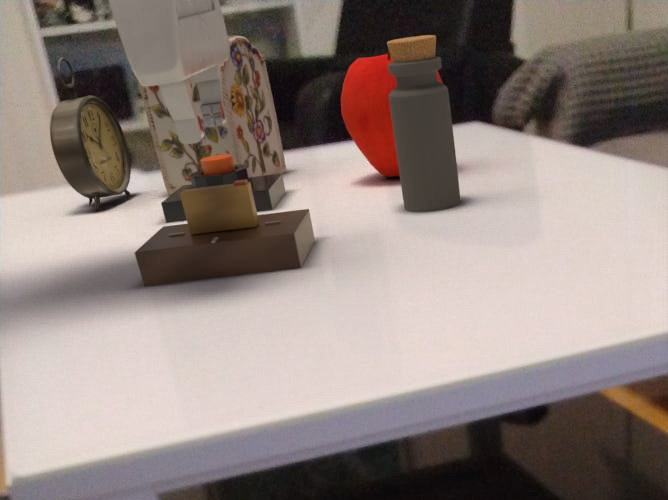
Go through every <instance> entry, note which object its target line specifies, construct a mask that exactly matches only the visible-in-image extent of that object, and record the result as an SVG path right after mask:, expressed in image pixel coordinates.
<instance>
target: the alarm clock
mask: <svg viewBox="0 0 668 500" xmlns="http://www.w3.org/2000/svg"><path fill="white" fill-rule="evenodd" d="M63 61H64V63H65V64H66V65H67V67H68V69H69V71H70V75H71V83H68V84H67V83H66V82H65V81H64V78H63V75H62V68H61V67H62V62H63ZM57 71H58V72H57V73H58V77H59V79H60V82H61V84H62V85H63V86H64V88H65V89H66V90H67V92H68V97H69V99H66V100H63V101H60V102H59V103H58V104H57V105H55V107H54V109H53V111H52V113H51V115H50V121H49V137H50V143H51V149H52V152H53V155H54V159H55V162H56V165H57V166H58V168H59V170H60V171H61V172H60V173H61V174H62V176H63V177H64V179H65V181H66V182H67V183H68V184H69V186H70V187H71V189H73V190H74V191H75V192H77V193H78V194H80V196H83V197H84V198H87V199H88V206H89V207H91V205H92V203H93V202H94V205H95V207H94V212H95V213H97V212H100V211H101V208H100V204H101V199H102V198H108V197H112V196H120V195H122V194H123V193H124V195H125V196H127V197H129V196H131V192H130V191H129V190H128V187H129V184H130V180H131V173H132V164H131V163H132V162H131V156H130V151H129V146H128V143H127V139H126V137H125V133H124V130H123V128H122V126H121V124H120V122H119V120H118V118H117V117H116V114H115V113H114V111H113V110H112V109H111V108H110V106H109V105H108V104H107V103H106V102H105V101H104V100H102V99H101V98H100V97H98V96H95V95H90V94H89V95H86V96H82V97H79V96H78V94H77V92H76V91H75V90H76V89H75V81H76V80H75V75H74V71H73V68H72V66H71V63H70V61H68V59H67V58H65V57H64V56H62V57H60V58H59V59H58V61H57Z"/></svg>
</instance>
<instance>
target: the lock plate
mask: <svg viewBox="0 0 668 500" xmlns="http://www.w3.org/2000/svg"><path fill="white" fill-rule="evenodd" d="M257 215H258V220H259V224H258V225H257V226H256V227H251V228H243V229H234V230H226V231H218V232H210V233H201V234H193V235H191V234H190V231H189V227H188V223H182V224H181V223H180V224H172V225H163V226H162V227H161V228H160V229H158V230H157V232H155V233H154V234H153V235H152V236H151V237H150V238H149V239H148V240H146V241H145V242H144V243H143V244H142V245H141V246H140V247H138V249H136V250H135V251H134V256H135V259H136V262H137V266H138V270H139V273H140V277H141V281H142V283H143V286H144V287H150V286H158V285H167V284H168V285H169V284H175V283H184V282H194V281H201V280H209V279H218V278H227V277H235V276H244V275H253V274H262V273H269V272H277V271H285V270H286V271H287V270H293V269H302V267H303V265H304V264H305V261H306V259H307V257H308V255H309V254H310V252H311V250H312V249H313V246H314V244H315V243H316V239H315V238H316V237H315V234H314V229H313V228H314V227H313V223H312V218H311V213H310V209H309V208H305V209H295V210H288V211H279V212H272V213H264V214H263V213H262V214H257Z"/></svg>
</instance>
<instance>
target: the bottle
mask: <svg viewBox="0 0 668 500" xmlns="http://www.w3.org/2000/svg"><path fill="white" fill-rule="evenodd" d="M386 46H387V49H388V48H389V52H390V55H391V58H392V61H393V62H391V63H389V64H388V69H389V74H390V75H392V76H395V77H396V83H397V86H396V88H394V89H393V90H392V91H391V93H390V94H389V102H390V110H391V117H392V124H393V132H394V139H395V146H396V153H397V160H398V167H399V174H400V176H399V180H400V186H401V188H400V189H401V194H402V200H403V206H404V210H405V211H406V212H409V213H428V212H429V213H430V212H436V211H443V210H448V209H451V208H454V207H456V206H459V205H460V204H461V191H460V182H459V171H458V164H457V155H456V154H457V153H456V146H455V138H454V128H453V119H452V111H451V102H450V95H449V89H448V86H447V85H445V84H444V83H443V82H442V83H443V84H442V83H441V82H438V80H437V71H439V70H440V69H442V67H443V66H442V58H441V56H437V55H436V47H437V36H436V35H435V34H427V35H426V34H425V35H416V36H409V37H402V38H397V39H391V40H388V41H387V42H386Z"/></svg>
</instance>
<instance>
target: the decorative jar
mask: <svg viewBox="0 0 668 500" xmlns="http://www.w3.org/2000/svg"><path fill="white" fill-rule="evenodd" d="M228 38H229V44H230V59H229V60H227V61H225V62H223V63H221V64H218V65H219V69H220V73H221V77H222V93H223V105H224V109H225V114H226V118H227V120H226V122H225V123H224V124H223V125H222V126H218V127H211V128H209V127H206V125H205V124H204V121H203V116H202V113H201V109H200V106H201V100H200V95H199V90H198V85H197V83H196V82H195V79H194V76H192V77H190V78H189V82H190V86H191V90H192V94H191V97H192V100H193V103H194V107H195V110H196V113H197V116H200V120H201V124H202V129H203V132H204V137H203V139H202V140H200V141H199V142H198V143H192V144H183V143H181V142H180V141H179V138H178V134H177V131H176V127H175V123H174V121H173V119H172V117H171V115H170V113H169V111H168V109H167V107H166V105H165V103H164V101H163V98H162V95H161V91H160V87H159V85H154V86H142V85H141V84H140V82H139V81H138V80H137V83H138V86H139V90H140V95H141V98H142V101H143V107H144V111H145V114H146V119H147V122H148V127H149V131H150V135H151V139H152V142H153V146H154V150H155V154H156V158H157V162H158V166H159V169H160V172H161V176H162V180H163V184H164V187H165V189H166V194H167V195H168V196H170V195H171V194H173V193H174V192H175V191H176V190H178V189H179V188H180V187H181V186H183V185H191V184H192V183H191V179H190V175H191V174H192V173H194V172H197V171H200V170H203V169H202V165H201V161H200V160H201V159H202V158H205V157H209V156H214V155H222V154H231V155H233V160H234V164H244V165H248V166H249V168H250V172H251V177H256V176H265V175H273V174H282V175H284V174H286V173H287V166H286V160H285V154H284V149H283V143H282V137H281V133H280V127H279V123H278V116H277V112H276V107H275V103H274V97H273V92H272V87H271V83H270V79H269V74H268V69H267V64H266V59H265V56H263V55H262V54H261V52H260V51H259V49H257V47H255V46H254V44H252V43H251V41H249V40H248V38H247V37H245V36H242V35H238V34H233V35H228Z"/></svg>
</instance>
